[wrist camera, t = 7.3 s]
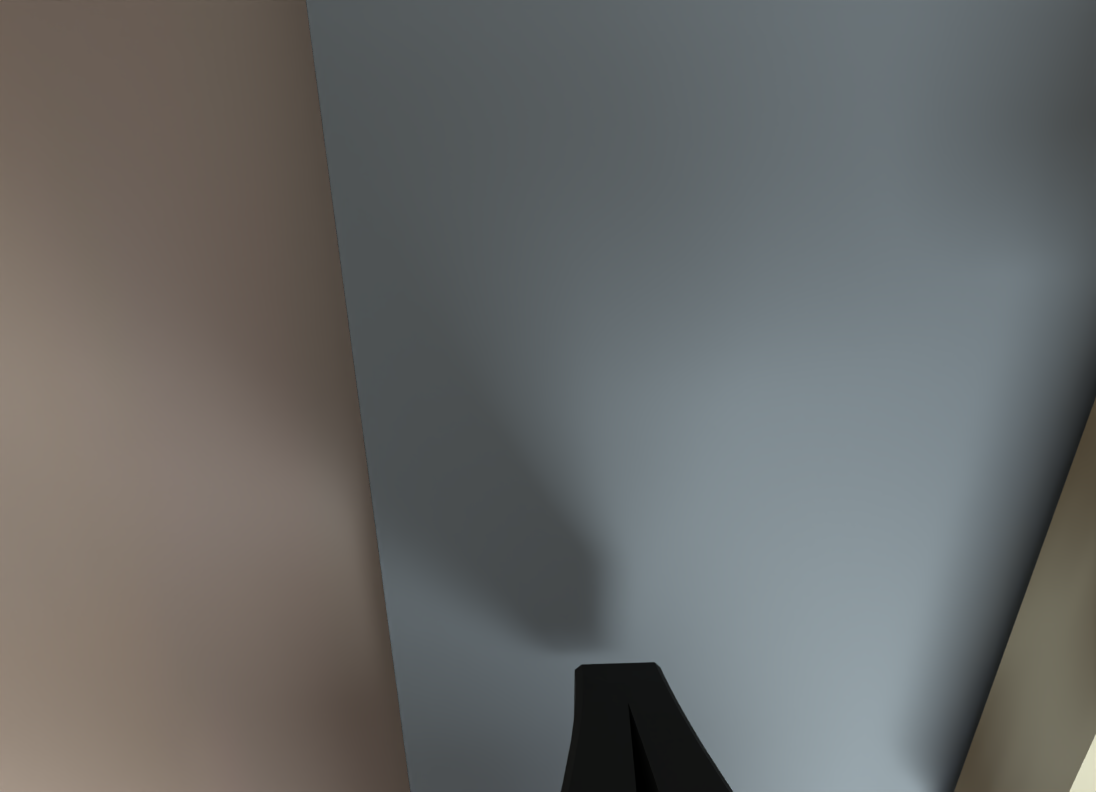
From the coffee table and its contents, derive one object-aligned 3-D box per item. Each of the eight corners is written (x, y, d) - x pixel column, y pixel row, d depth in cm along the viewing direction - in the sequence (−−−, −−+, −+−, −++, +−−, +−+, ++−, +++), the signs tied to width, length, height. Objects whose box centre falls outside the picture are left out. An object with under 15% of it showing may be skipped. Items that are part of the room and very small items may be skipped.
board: (1171, 789, 16) (1212, 830, 15) (426, 819, 15) (419, 864, 14) (1840, -448, 8) (2021, -526, 7) (268, -479, 7) (231, -571, 6)
